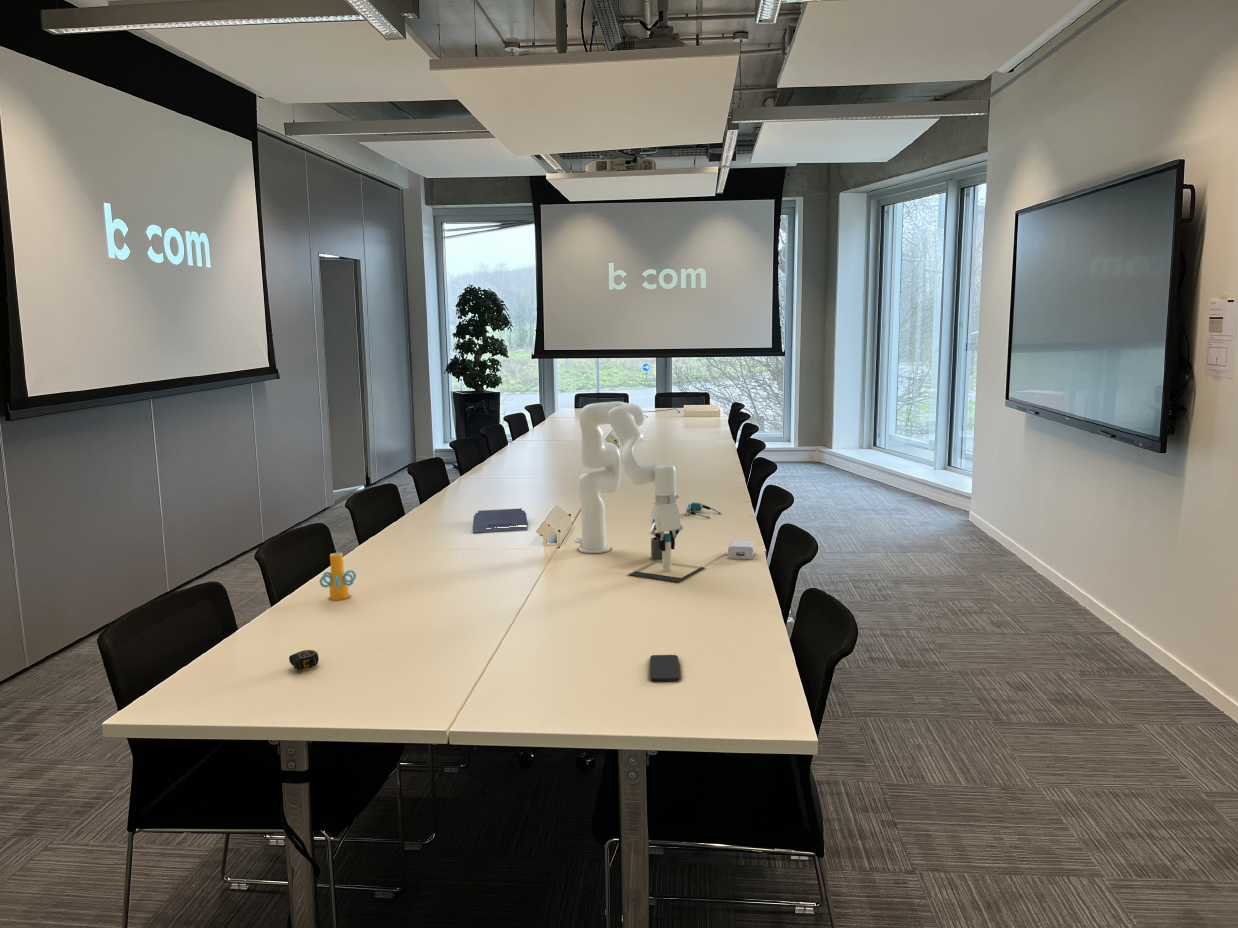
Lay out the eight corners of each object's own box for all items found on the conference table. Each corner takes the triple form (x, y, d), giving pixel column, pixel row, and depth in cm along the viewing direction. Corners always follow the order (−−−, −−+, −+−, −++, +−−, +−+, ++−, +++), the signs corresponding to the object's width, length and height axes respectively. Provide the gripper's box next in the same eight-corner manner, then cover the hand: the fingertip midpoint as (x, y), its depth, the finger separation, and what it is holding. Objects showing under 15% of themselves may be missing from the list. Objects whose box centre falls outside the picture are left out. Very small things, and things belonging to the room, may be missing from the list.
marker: (660, 571, 305) (660, 534, 303) (665, 569, 308) (664, 532, 306) (668, 572, 304) (668, 535, 302) (673, 570, 306) (672, 533, 304)
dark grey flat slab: (526, 513, 406) (525, 506, 405) (528, 535, 377) (527, 527, 376) (474, 516, 402) (474, 509, 401) (472, 538, 374) (472, 530, 373)
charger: (755, 549, 334) (752, 559, 320) (731, 548, 336) (728, 558, 322) (755, 537, 334) (752, 546, 319) (731, 536, 336) (728, 546, 321)
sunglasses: (695, 509, 410) (696, 499, 408) (722, 517, 401) (723, 507, 400) (680, 515, 398) (681, 505, 397) (707, 522, 390) (708, 512, 389)
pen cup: (648, 560, 323) (648, 539, 321) (656, 556, 328) (655, 536, 326) (661, 561, 320) (661, 541, 318) (669, 558, 325) (668, 537, 323)
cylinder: (364, 594, 289) (361, 551, 287) (345, 603, 279) (341, 559, 277) (334, 591, 293) (331, 549, 291) (314, 600, 283) (310, 557, 281)
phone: (650, 678, 210) (649, 654, 225) (650, 681, 211) (650, 657, 225) (680, 677, 210) (677, 654, 225) (680, 681, 210) (678, 657, 225)
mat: (628, 575, 303) (628, 574, 303) (656, 561, 320) (656, 560, 320) (678, 582, 292) (678, 581, 292) (704, 568, 309) (704, 567, 309)
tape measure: (289, 666, 227) (287, 652, 226) (315, 660, 231) (314, 646, 230) (295, 674, 221) (294, 660, 221) (322, 667, 225) (321, 654, 224)
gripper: (679, 495, 309) (680, 544, 312) (640, 500, 301) (641, 550, 304) (690, 498, 303) (691, 548, 305) (651, 503, 295) (652, 555, 298)
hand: (666, 549), depth 305 cm, fingers closed on marker, 3 cm apart
